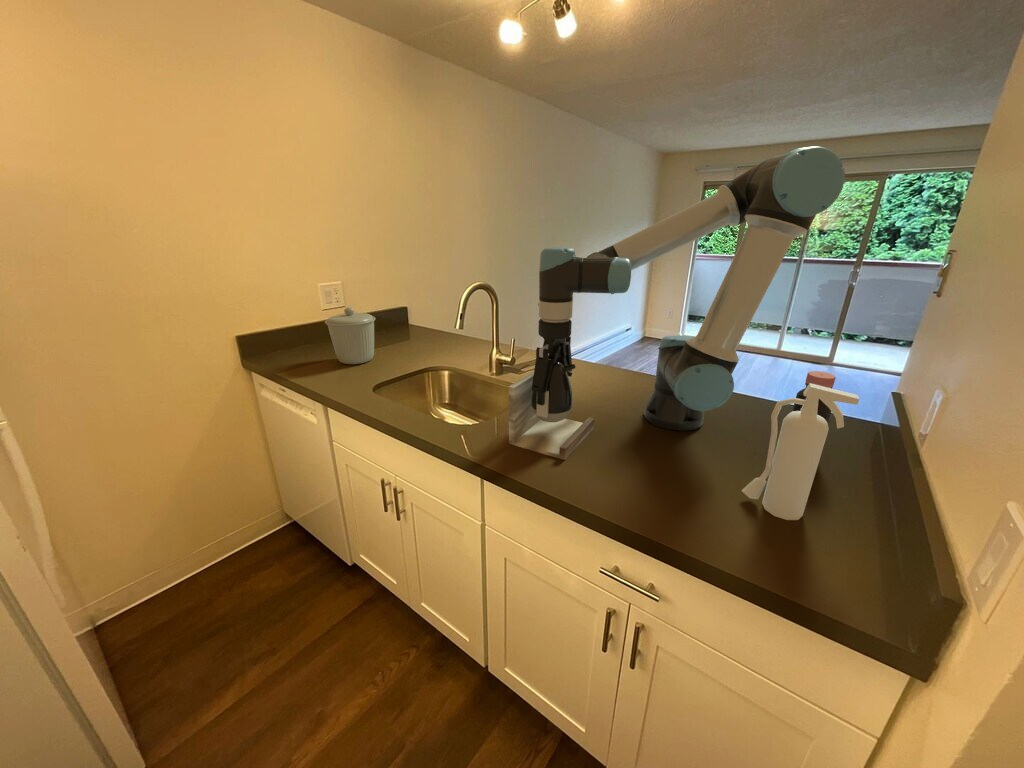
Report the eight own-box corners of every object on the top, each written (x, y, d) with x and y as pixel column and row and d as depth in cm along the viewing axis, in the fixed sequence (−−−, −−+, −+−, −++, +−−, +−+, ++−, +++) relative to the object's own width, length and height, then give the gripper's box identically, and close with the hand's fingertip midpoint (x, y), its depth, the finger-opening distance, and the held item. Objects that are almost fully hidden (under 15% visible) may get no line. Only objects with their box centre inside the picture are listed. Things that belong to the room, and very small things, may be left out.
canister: (390, 358, 167) (384, 305, 159) (352, 371, 153) (343, 314, 145) (360, 351, 176) (353, 301, 168) (322, 363, 162) (312, 308, 154)
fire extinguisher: (741, 486, 85) (773, 372, 75) (812, 508, 79) (858, 387, 69) (737, 505, 79) (771, 384, 69) (813, 530, 73) (862, 402, 63)
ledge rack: (593, 428, 109) (597, 375, 104) (565, 460, 95) (568, 399, 89) (542, 416, 116) (543, 365, 111) (508, 443, 102) (508, 386, 96)
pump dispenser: (571, 429, 98) (574, 368, 93) (527, 425, 100) (528, 365, 95) (574, 411, 108) (577, 354, 102) (534, 408, 110) (535, 352, 104)
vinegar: (775, 448, 99) (795, 369, 92) (804, 449, 99) (827, 369, 92) (792, 464, 93) (815, 380, 86) (823, 464, 93) (849, 380, 85)
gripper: (561, 309, 106) (557, 390, 114) (515, 327, 88) (515, 422, 96) (589, 311, 102) (583, 395, 110) (547, 331, 84) (545, 429, 92)
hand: (552, 407), depth 103 cm, fingers closed on pump dispenser, 10 cm apart
